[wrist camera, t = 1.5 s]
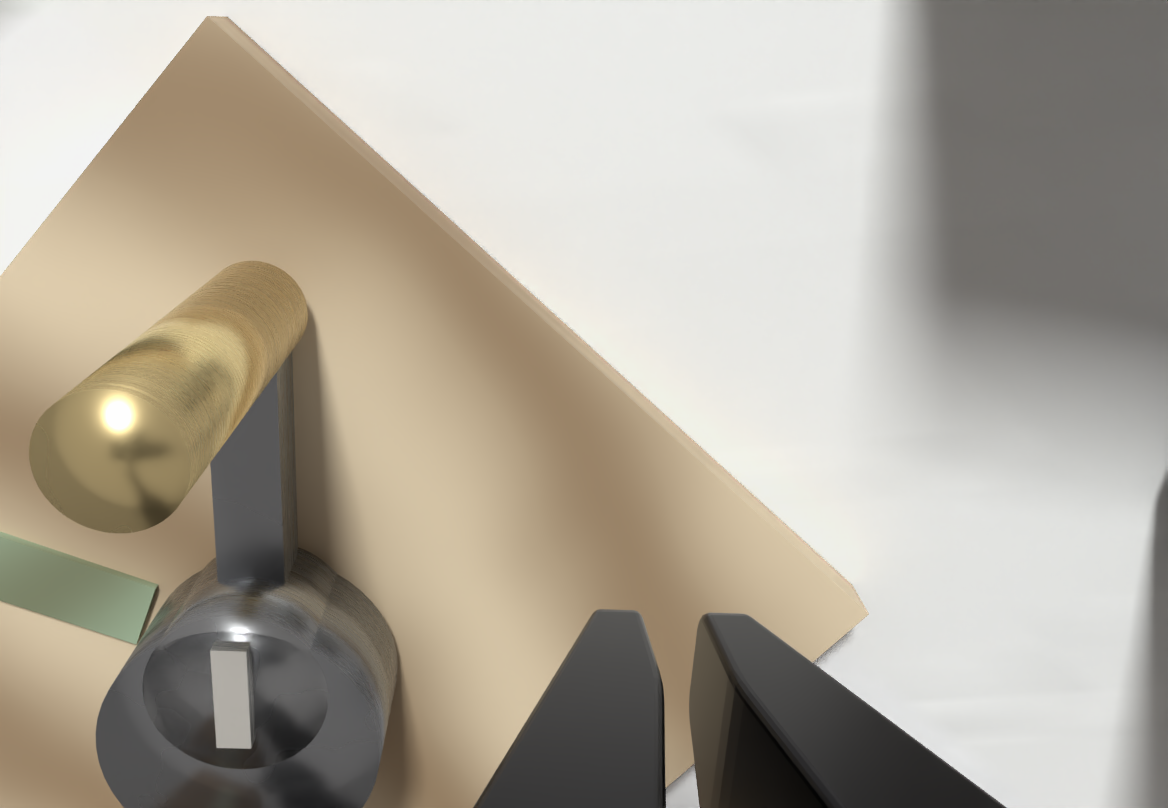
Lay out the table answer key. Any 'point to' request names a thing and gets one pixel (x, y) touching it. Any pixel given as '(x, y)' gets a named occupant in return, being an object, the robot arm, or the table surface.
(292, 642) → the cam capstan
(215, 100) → the stand
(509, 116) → the table surface
